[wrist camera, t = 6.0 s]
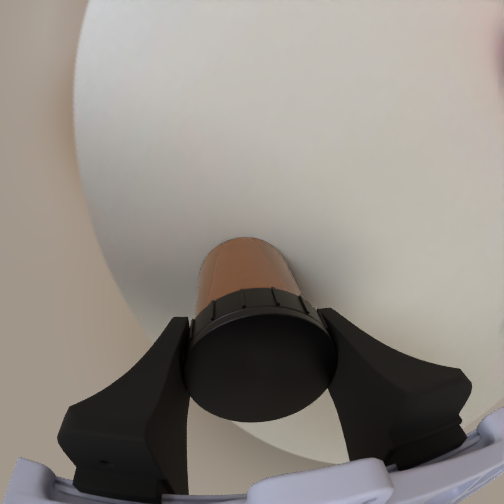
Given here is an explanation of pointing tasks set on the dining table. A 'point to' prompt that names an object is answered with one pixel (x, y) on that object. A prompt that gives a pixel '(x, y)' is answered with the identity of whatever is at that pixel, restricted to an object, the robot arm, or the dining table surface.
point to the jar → (242, 270)
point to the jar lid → (258, 355)
